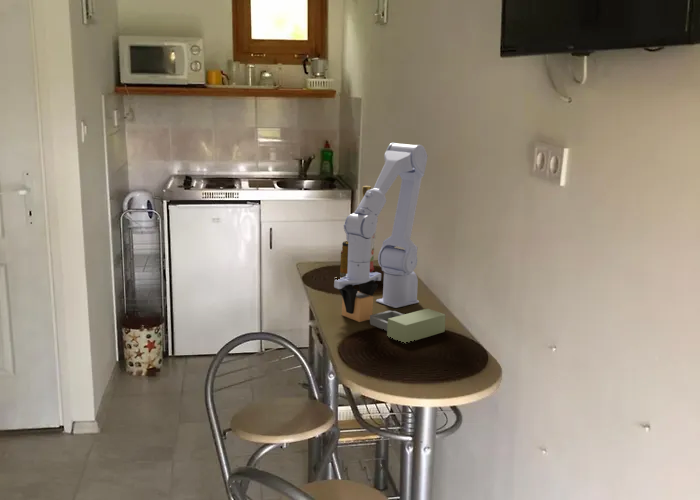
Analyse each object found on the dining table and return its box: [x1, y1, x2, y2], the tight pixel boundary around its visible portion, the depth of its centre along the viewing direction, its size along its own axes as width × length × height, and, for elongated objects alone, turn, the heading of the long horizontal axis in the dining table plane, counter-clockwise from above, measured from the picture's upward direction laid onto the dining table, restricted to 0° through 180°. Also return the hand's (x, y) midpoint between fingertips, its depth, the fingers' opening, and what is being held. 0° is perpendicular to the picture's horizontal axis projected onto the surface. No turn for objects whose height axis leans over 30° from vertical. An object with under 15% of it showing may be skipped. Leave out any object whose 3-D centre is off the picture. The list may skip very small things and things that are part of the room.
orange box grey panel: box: [341, 290, 374, 323], centre depth 184 cm, size 4×7×6 cm, turn 41°
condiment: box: [335, 240, 348, 278], centre depth 219 cm, size 7×8×12 cm
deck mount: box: [369, 307, 447, 344], centre depth 177 cm, size 14×16×4 cm
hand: (357, 310), depth 185 cm, fingers closed on orange box grey panel, 4 cm apart
